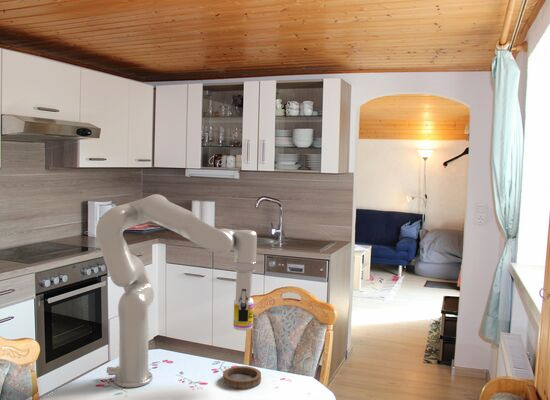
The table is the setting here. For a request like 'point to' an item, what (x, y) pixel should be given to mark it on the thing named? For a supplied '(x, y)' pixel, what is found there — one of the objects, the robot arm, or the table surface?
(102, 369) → the table surface
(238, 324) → the supplement bottle
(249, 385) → the ring holder
